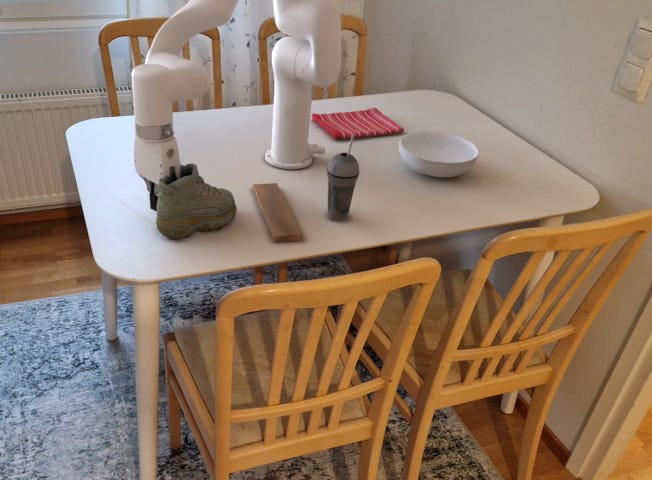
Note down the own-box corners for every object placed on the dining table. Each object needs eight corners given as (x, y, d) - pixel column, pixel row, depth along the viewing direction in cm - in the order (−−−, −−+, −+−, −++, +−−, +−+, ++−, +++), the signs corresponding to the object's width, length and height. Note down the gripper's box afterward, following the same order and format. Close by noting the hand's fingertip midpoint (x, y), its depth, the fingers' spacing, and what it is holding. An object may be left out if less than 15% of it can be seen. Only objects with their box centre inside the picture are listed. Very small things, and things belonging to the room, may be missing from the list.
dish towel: (308, 120, 194) (309, 112, 192) (376, 113, 202) (377, 105, 201) (333, 142, 181) (334, 133, 180) (404, 134, 189) (405, 126, 188)
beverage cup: (319, 208, 149) (328, 127, 137) (350, 208, 150) (361, 128, 138) (323, 224, 143) (333, 141, 131) (355, 224, 144) (367, 142, 132)
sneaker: (248, 227, 139) (247, 163, 131) (163, 245, 131) (157, 178, 124) (230, 208, 147) (227, 146, 140) (148, 224, 140) (141, 159, 132)
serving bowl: (487, 171, 172) (493, 147, 168) (446, 195, 159) (452, 170, 155) (422, 146, 183) (427, 123, 179) (379, 166, 170) (383, 142, 166)
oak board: (276, 188, 156) (276, 183, 155) (301, 240, 137) (302, 234, 136) (252, 190, 154) (252, 184, 153) (274, 242, 135) (274, 236, 134)
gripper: (193, 134, 127) (194, 214, 137) (144, 113, 134) (149, 191, 145) (164, 144, 122) (168, 227, 132) (115, 122, 129) (122, 201, 140)
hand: (158, 208), depth 138 cm, fingers closed
